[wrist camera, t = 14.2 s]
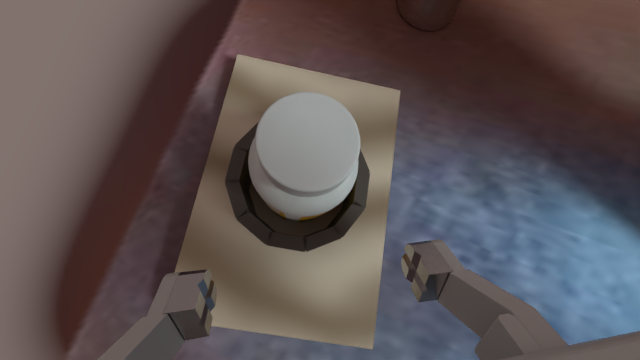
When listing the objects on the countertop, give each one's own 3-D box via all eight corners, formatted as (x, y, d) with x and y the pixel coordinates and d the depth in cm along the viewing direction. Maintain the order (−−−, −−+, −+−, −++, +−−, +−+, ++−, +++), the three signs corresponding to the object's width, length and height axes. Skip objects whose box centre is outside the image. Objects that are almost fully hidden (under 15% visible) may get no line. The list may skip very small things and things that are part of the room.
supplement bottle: (255, 213, 18) (213, 192, 8) (273, 145, 19) (255, 59, 10) (327, 229, 18) (365, 225, 9) (341, 161, 19) (387, 93, 10)
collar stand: (241, 66, 22) (226, 18, 17) (393, 99, 23) (421, 63, 18) (172, 311, 17) (124, 342, 12) (366, 339, 18) (393, 378, 13)
